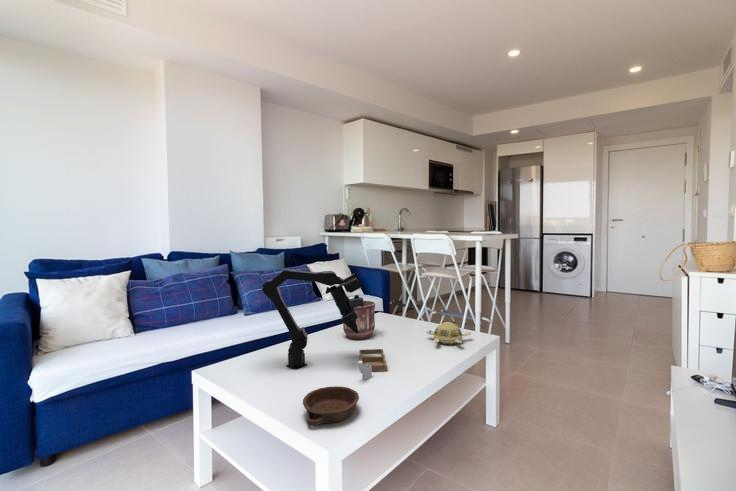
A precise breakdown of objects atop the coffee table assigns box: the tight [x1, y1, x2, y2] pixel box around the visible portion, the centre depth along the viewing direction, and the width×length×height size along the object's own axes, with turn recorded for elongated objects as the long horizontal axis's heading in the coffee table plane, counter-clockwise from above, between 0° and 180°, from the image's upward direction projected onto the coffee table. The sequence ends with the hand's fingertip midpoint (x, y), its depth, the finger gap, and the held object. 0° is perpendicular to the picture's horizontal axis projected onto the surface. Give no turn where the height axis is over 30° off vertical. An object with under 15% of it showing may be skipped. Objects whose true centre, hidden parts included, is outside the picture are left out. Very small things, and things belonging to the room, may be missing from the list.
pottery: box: [342, 300, 376, 341], centre depth 197 cm, size 18×18×18 cm
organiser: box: [359, 348, 388, 374], centre depth 158 cm, size 20×11×2 cm, turn 3°
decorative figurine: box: [425, 321, 472, 345], centre depth 184 cm, size 26×21×10 cm
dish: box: [302, 386, 360, 426], centre depth 116 cm, size 18×22×5 cm
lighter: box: [356, 359, 373, 381], centre depth 141 cm, size 7×2×8 cm, turn 143°
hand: (356, 330), depth 159 cm, fingers open, 9 cm apart
